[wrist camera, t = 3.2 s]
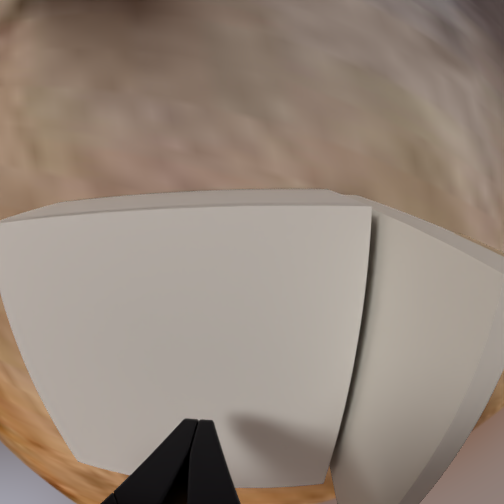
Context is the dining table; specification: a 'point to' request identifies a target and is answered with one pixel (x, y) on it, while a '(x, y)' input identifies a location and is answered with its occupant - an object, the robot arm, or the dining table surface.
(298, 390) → the carton
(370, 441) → the flap
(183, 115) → the dining table surface
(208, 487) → the robot arm
